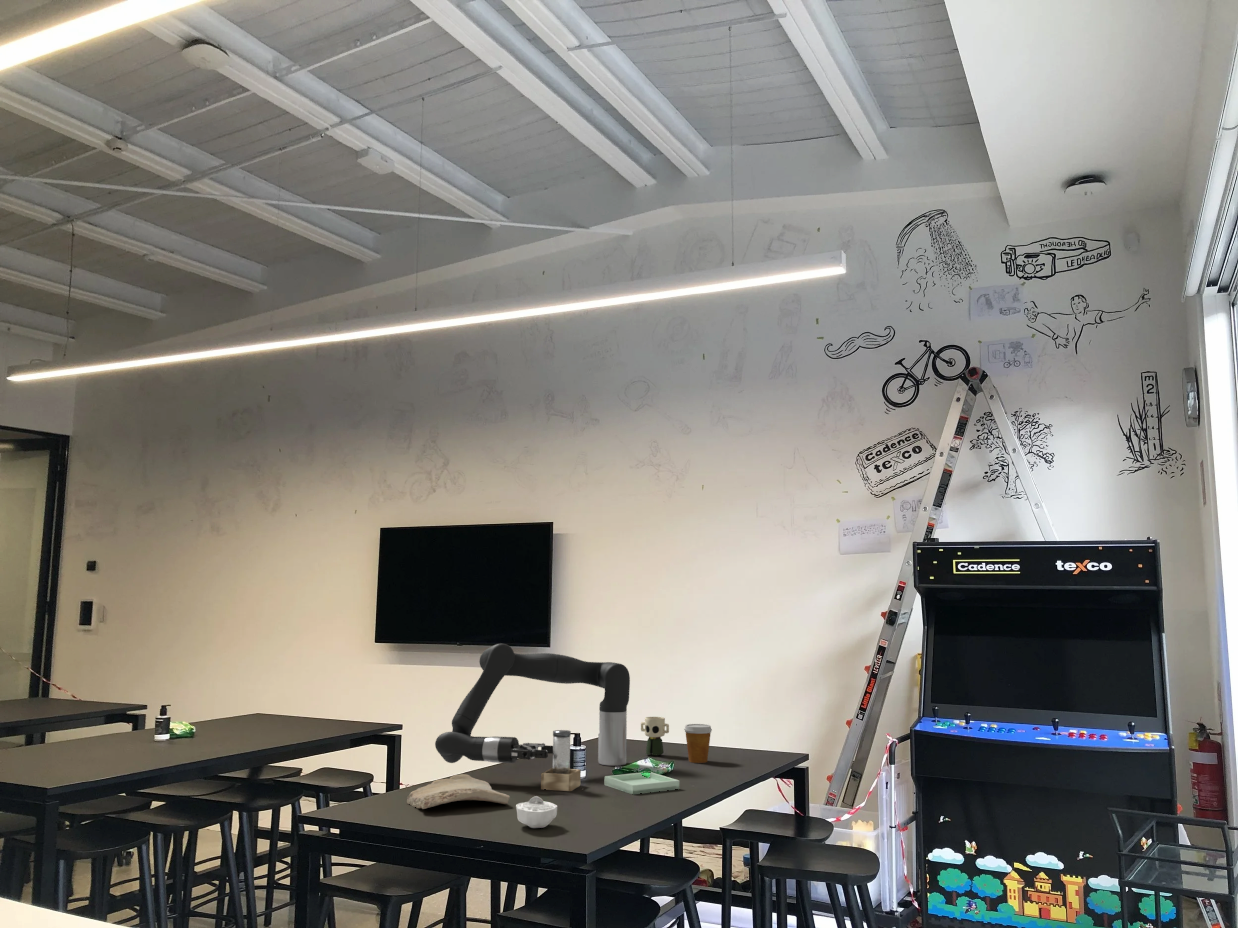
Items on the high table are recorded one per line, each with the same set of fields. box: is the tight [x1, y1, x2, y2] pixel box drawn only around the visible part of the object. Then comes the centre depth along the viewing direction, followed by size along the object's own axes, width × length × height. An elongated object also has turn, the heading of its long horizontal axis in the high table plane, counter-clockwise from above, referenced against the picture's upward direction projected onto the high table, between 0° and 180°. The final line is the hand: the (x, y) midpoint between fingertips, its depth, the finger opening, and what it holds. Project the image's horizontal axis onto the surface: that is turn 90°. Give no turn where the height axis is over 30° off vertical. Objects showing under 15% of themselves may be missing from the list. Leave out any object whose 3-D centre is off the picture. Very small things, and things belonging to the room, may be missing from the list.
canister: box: [552, 729, 572, 774], centre depth 286 cm, size 5×5×16 cm
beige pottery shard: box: [406, 773, 511, 810], centre depth 261 cm, size 24×8×20 cm
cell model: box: [515, 795, 558, 829], centre depth 236 cm, size 10×12×7 cm
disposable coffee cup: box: [683, 723, 713, 764], centre depth 332 cm, size 10×10×12 cm
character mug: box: [640, 716, 670, 757], centre depth 345 cm, size 11×7×13 cm, turn 64°
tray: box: [604, 771, 680, 795], centre depth 286 cm, size 16×16×2 cm
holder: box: [540, 767, 582, 792], centre depth 285 cm, size 9×9×4 cm
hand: (552, 751), depth 287 cm, fingers open, 8 cm apart
